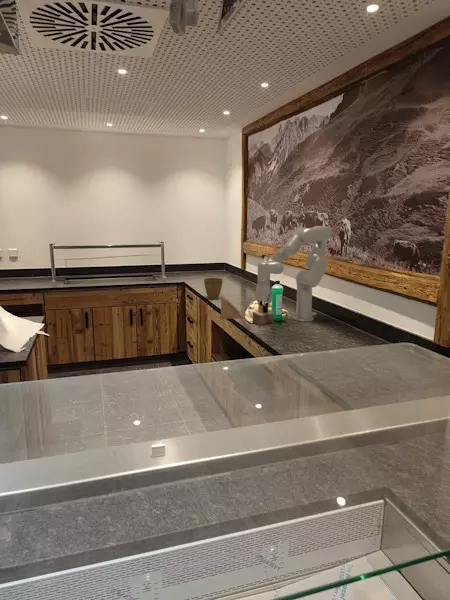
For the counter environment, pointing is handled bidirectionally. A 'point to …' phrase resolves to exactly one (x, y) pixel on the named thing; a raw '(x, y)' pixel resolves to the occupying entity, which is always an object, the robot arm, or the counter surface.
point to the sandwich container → (229, 310)
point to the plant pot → (213, 287)
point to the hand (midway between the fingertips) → (263, 311)
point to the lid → (260, 311)
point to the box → (263, 319)
